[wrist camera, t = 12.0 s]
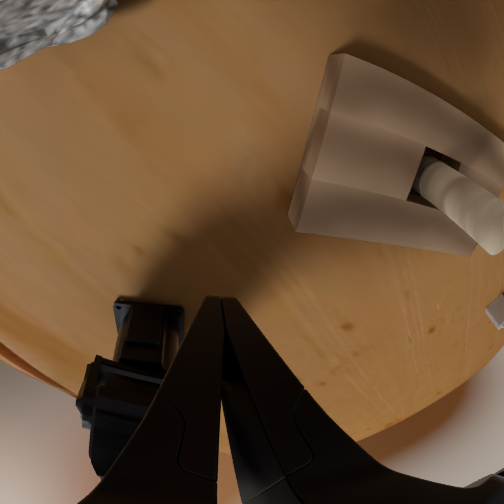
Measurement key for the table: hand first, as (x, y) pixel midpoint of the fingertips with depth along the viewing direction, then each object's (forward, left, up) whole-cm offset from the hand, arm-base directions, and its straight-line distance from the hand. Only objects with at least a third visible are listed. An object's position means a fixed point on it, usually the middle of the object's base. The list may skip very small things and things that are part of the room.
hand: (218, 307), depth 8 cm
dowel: (+3, -16, -13) cm, 21 cm away
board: (+3, -16, -13) cm, 21 cm away
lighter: (-11, -47, -13) cm, 50 cm away
